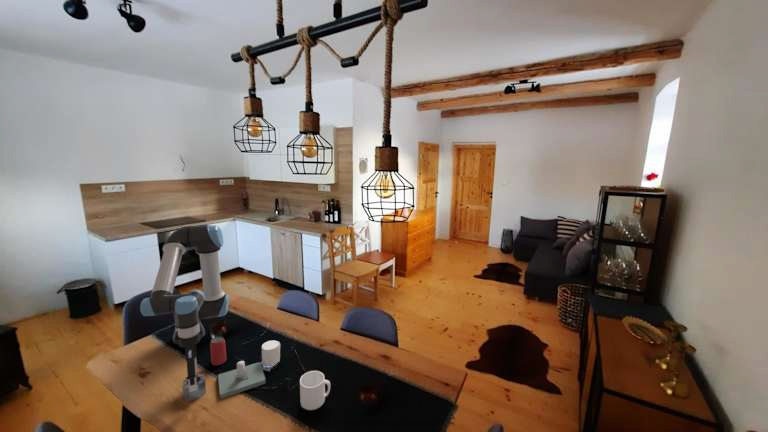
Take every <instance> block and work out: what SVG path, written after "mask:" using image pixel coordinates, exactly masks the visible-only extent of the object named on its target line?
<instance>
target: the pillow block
mask: <svg viewBox="0 0 768 432" xmlns="http://www.w3.org/2000/svg"><path fill="white" fill-rule="evenodd" d="M245 363H246V362H245V361H244V360H240V361H238V362H237V363H236V369H232V370H228V371H225V372H221V373H219V374H217V376H218V377H217V378H218V388H219V397H220V400H221V399H224V398H227V397H228V398H229V397H230V396H233V395H236V394H239V393H242V392H244V391H248V390H251V389H254V388H257V387H260V386H262V385H265V384H267V383H266V382H267V381H266V379H267V378H266V376H265V373H264V371H263V366H262V362H261V361H259V362H258V361H257V362H256V363H255V362H254V363H251V364H248V365H246V364H245Z"/></svg>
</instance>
